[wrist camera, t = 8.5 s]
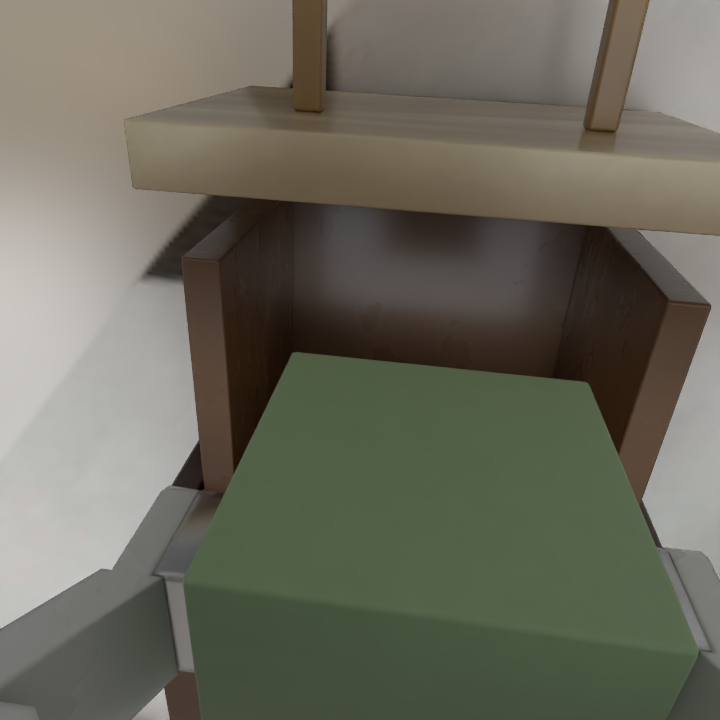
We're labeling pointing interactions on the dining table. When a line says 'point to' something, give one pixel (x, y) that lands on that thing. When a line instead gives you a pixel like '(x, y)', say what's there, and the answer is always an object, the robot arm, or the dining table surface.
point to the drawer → (437, 238)
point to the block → (432, 557)
